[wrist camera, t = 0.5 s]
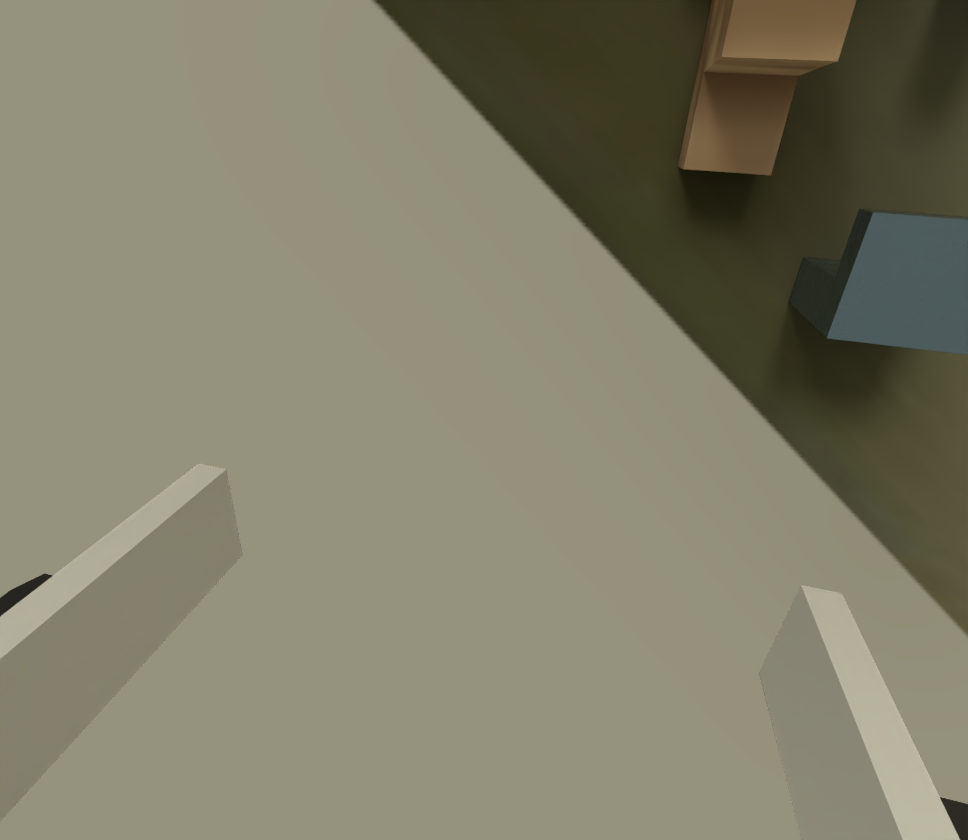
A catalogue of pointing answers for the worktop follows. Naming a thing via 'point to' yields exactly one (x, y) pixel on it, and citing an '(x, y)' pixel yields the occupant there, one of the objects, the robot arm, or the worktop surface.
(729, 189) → the worktop surface
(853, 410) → the worktop surface
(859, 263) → the bracket
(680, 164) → the square loop handle
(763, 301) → the worktop surface
